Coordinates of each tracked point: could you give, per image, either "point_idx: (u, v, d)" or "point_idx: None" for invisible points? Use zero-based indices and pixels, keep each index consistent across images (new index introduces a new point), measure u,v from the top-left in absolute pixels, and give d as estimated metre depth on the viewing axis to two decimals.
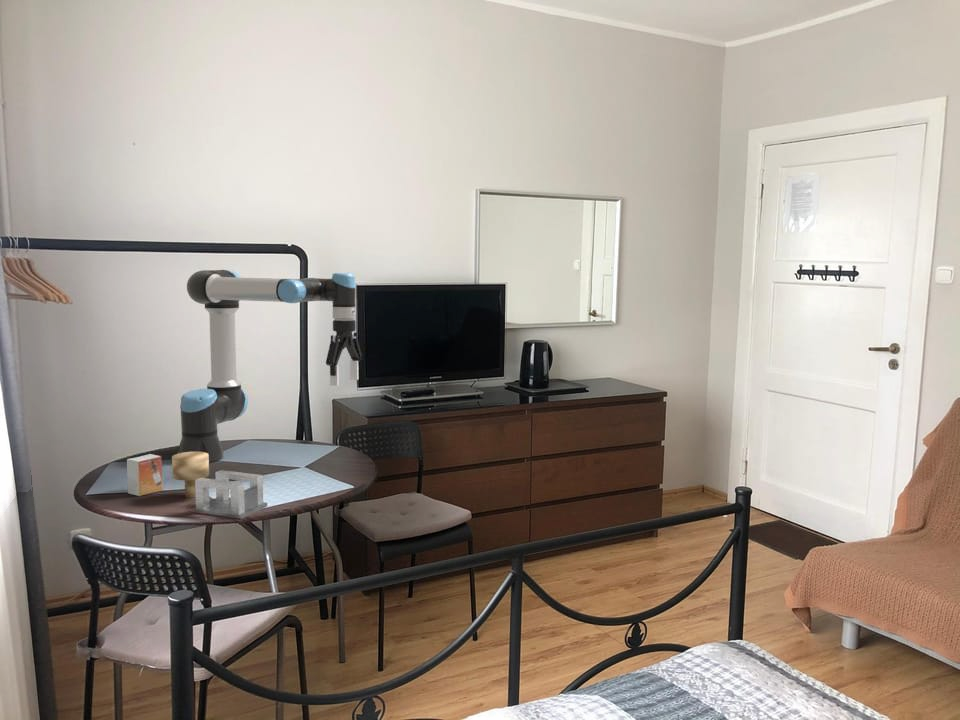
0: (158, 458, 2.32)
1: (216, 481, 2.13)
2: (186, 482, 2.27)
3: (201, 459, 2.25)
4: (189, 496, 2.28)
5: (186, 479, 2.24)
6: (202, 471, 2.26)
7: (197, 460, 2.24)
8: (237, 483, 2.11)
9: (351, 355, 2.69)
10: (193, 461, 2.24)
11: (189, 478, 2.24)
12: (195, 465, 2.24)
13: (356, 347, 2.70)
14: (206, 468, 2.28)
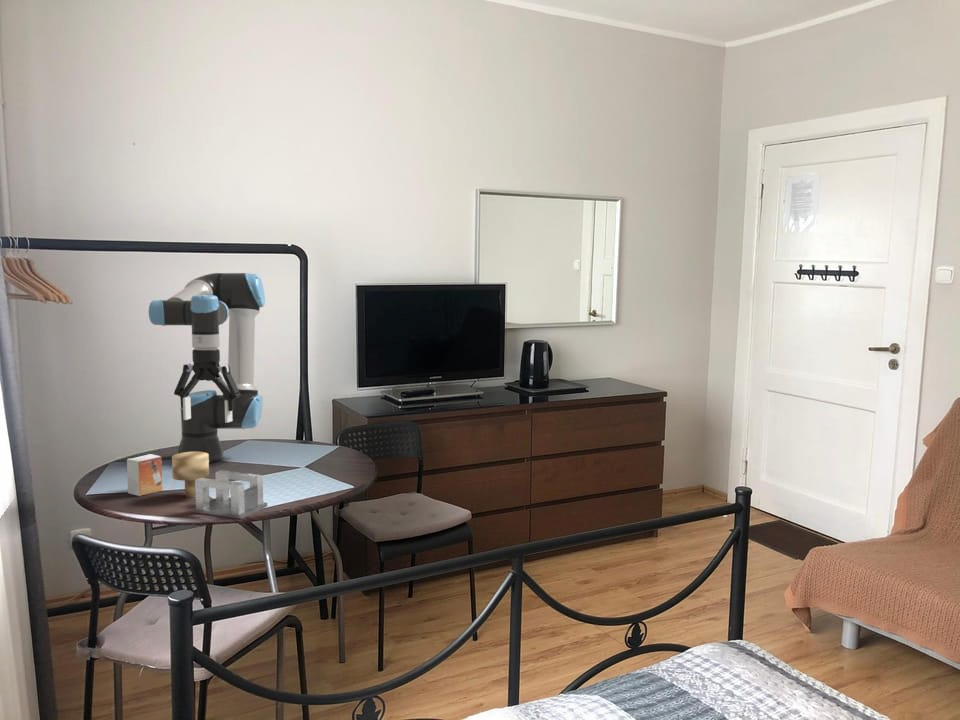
0: (158, 458, 2.32)
1: (216, 481, 2.13)
2: (186, 482, 2.27)
3: (201, 459, 2.25)
4: (189, 496, 2.28)
5: (186, 479, 2.24)
6: (202, 471, 2.26)
7: (197, 460, 2.24)
8: (237, 483, 2.11)
9: None
10: (193, 461, 2.24)
11: (189, 478, 2.24)
12: (195, 465, 2.24)
13: None
14: (206, 468, 2.28)
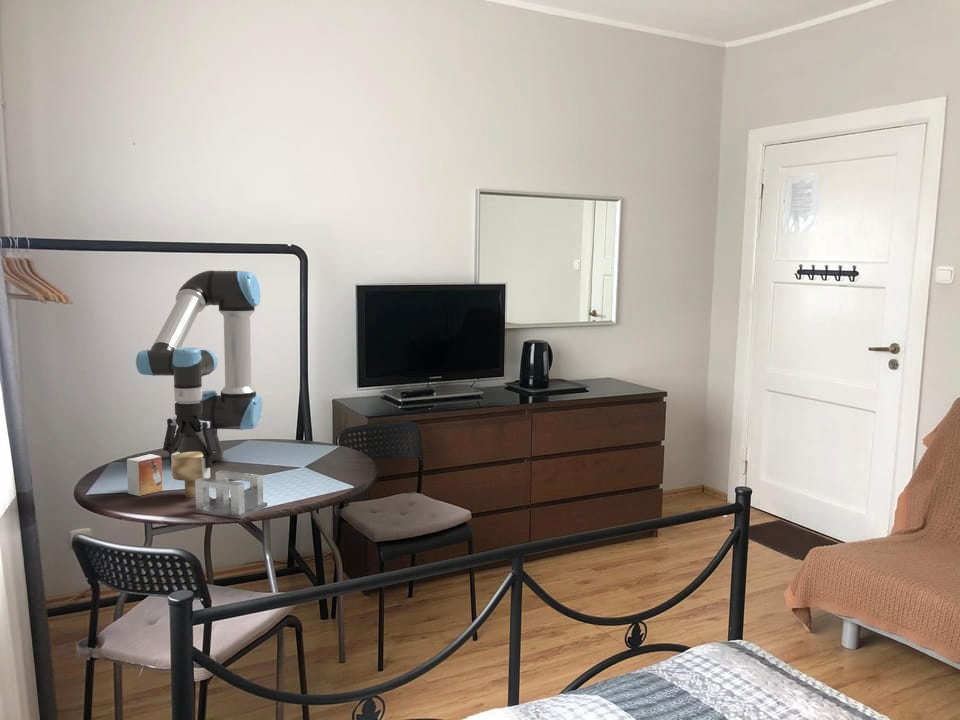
0: (158, 458, 2.32)
1: (216, 481, 2.13)
2: (186, 482, 2.27)
3: None
4: (189, 496, 2.28)
5: (186, 479, 2.24)
6: None
7: (197, 460, 2.24)
8: (237, 483, 2.11)
9: None
10: (193, 461, 2.24)
11: (189, 478, 2.24)
12: (195, 465, 2.24)
13: None
14: None
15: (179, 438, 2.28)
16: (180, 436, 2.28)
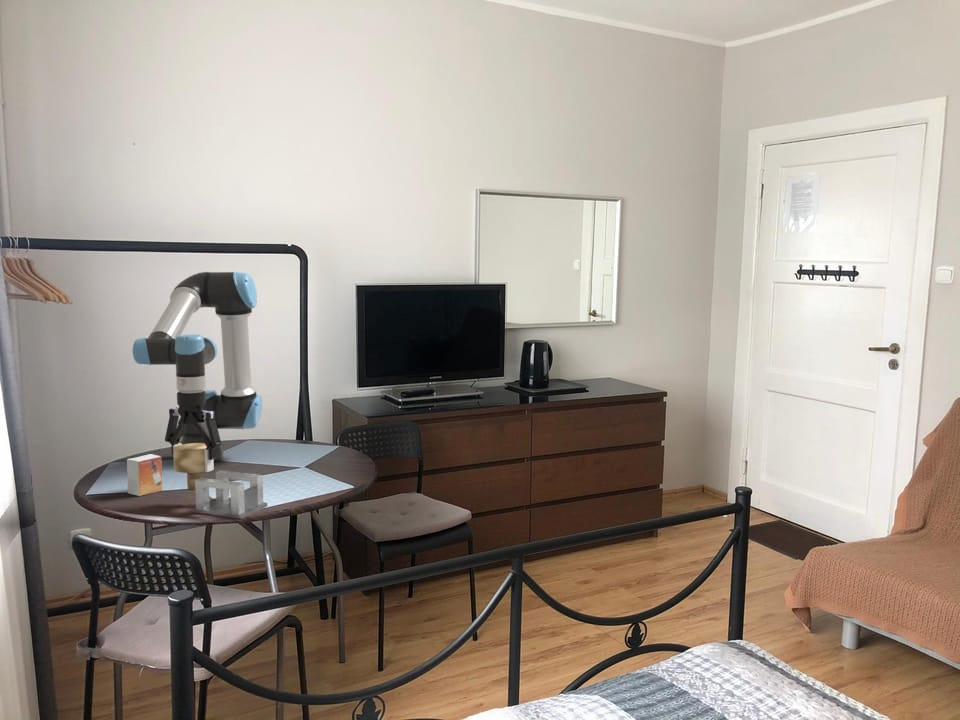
0: (158, 458, 2.32)
1: (216, 481, 2.13)
2: (189, 474, 2.19)
3: None
4: (192, 489, 2.19)
5: (188, 471, 2.16)
6: None
7: (200, 451, 2.16)
8: (237, 483, 2.11)
9: None
10: (196, 453, 2.15)
11: (192, 470, 2.16)
12: (197, 456, 2.16)
13: None
14: None
15: (181, 429, 2.20)
16: (182, 427, 2.20)
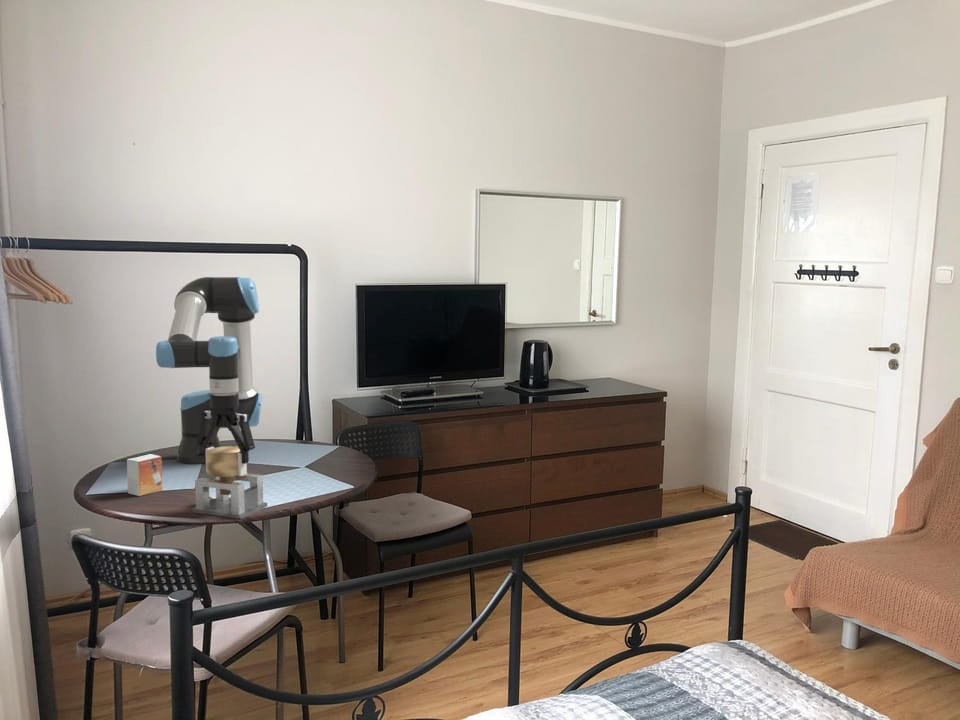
0: (158, 458, 2.32)
1: (216, 481, 2.13)
2: (221, 478, 2.15)
3: (237, 454, 2.13)
4: (224, 493, 2.16)
5: (222, 475, 2.12)
6: None
7: (233, 455, 2.12)
8: (237, 483, 2.11)
9: None
10: (229, 456, 2.12)
11: (225, 474, 2.12)
12: (231, 460, 2.12)
13: None
14: None
15: (214, 432, 2.16)
16: (215, 430, 2.16)
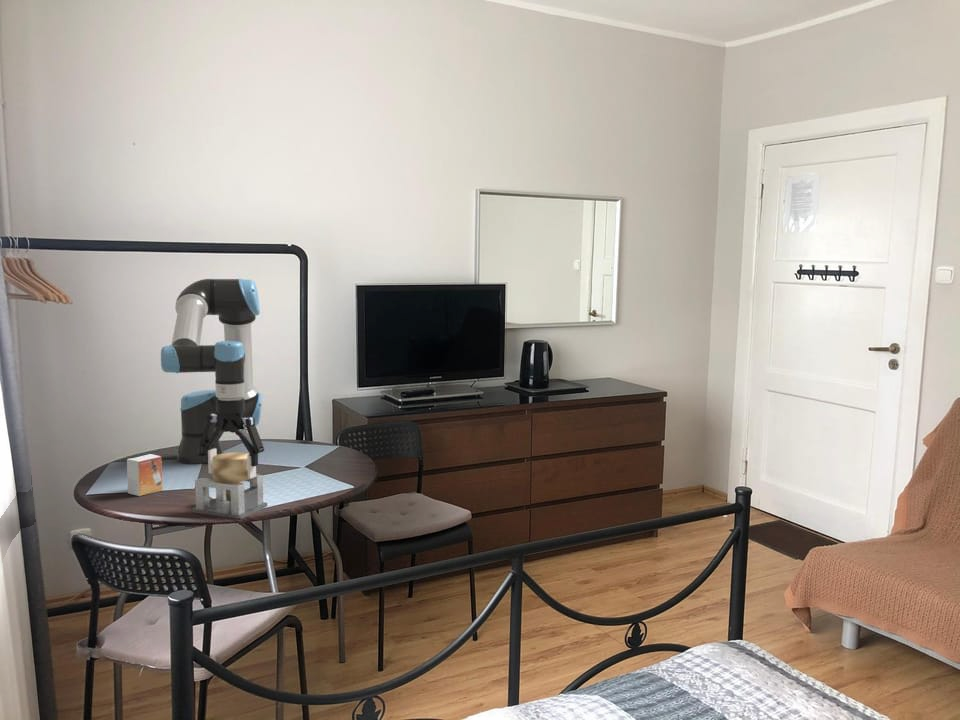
0: (158, 458, 2.32)
1: None
2: None
3: (244, 460, 2.13)
4: None
5: (228, 481, 2.12)
6: (245, 473, 2.14)
7: (240, 461, 2.12)
8: (237, 483, 2.11)
9: None
10: (236, 462, 2.11)
11: (231, 480, 2.12)
12: (237, 466, 2.12)
13: None
14: None
15: (218, 435, 2.16)
16: (219, 434, 2.16)
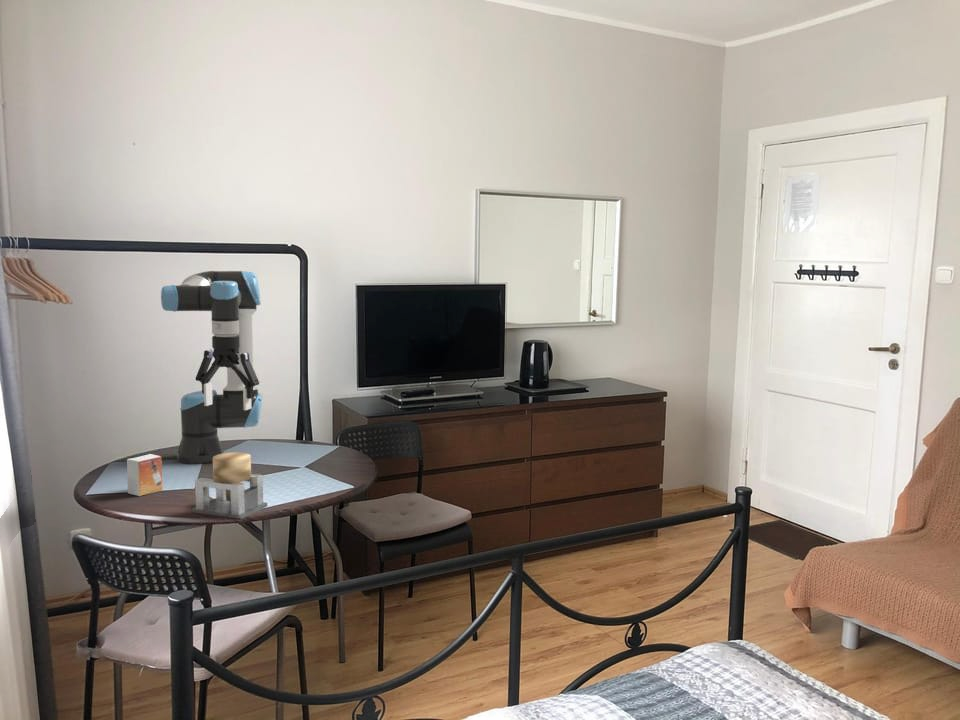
0: (158, 458, 2.32)
1: None
2: None
3: (244, 460, 2.13)
4: None
5: (228, 481, 2.12)
6: (245, 473, 2.14)
7: (240, 461, 2.12)
8: (237, 483, 2.11)
9: None
10: (236, 462, 2.11)
11: (231, 480, 2.12)
12: (237, 466, 2.12)
13: None
14: (248, 470, 2.15)
15: (214, 370, 2.28)
16: (215, 368, 2.28)
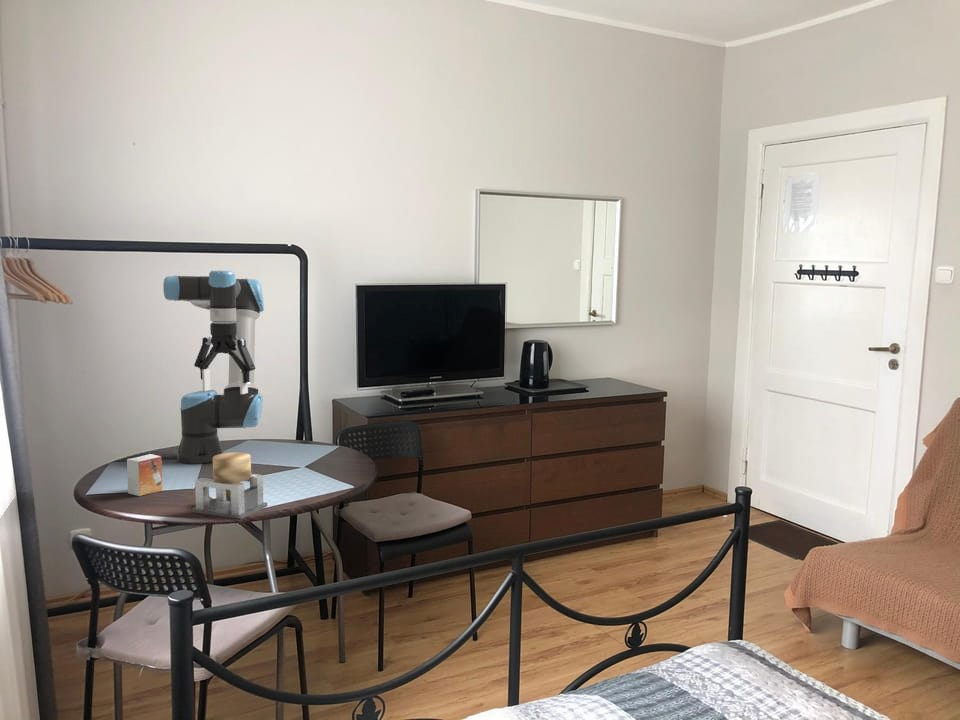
0: (158, 458, 2.32)
1: None
2: None
3: (244, 460, 2.13)
4: None
5: (228, 481, 2.12)
6: (245, 473, 2.14)
7: (240, 461, 2.12)
8: (237, 483, 2.11)
9: None
10: (236, 462, 2.11)
11: (231, 480, 2.12)
12: (237, 466, 2.12)
13: None
14: (249, 470, 2.15)
15: (212, 356, 2.38)
16: (213, 355, 2.38)
